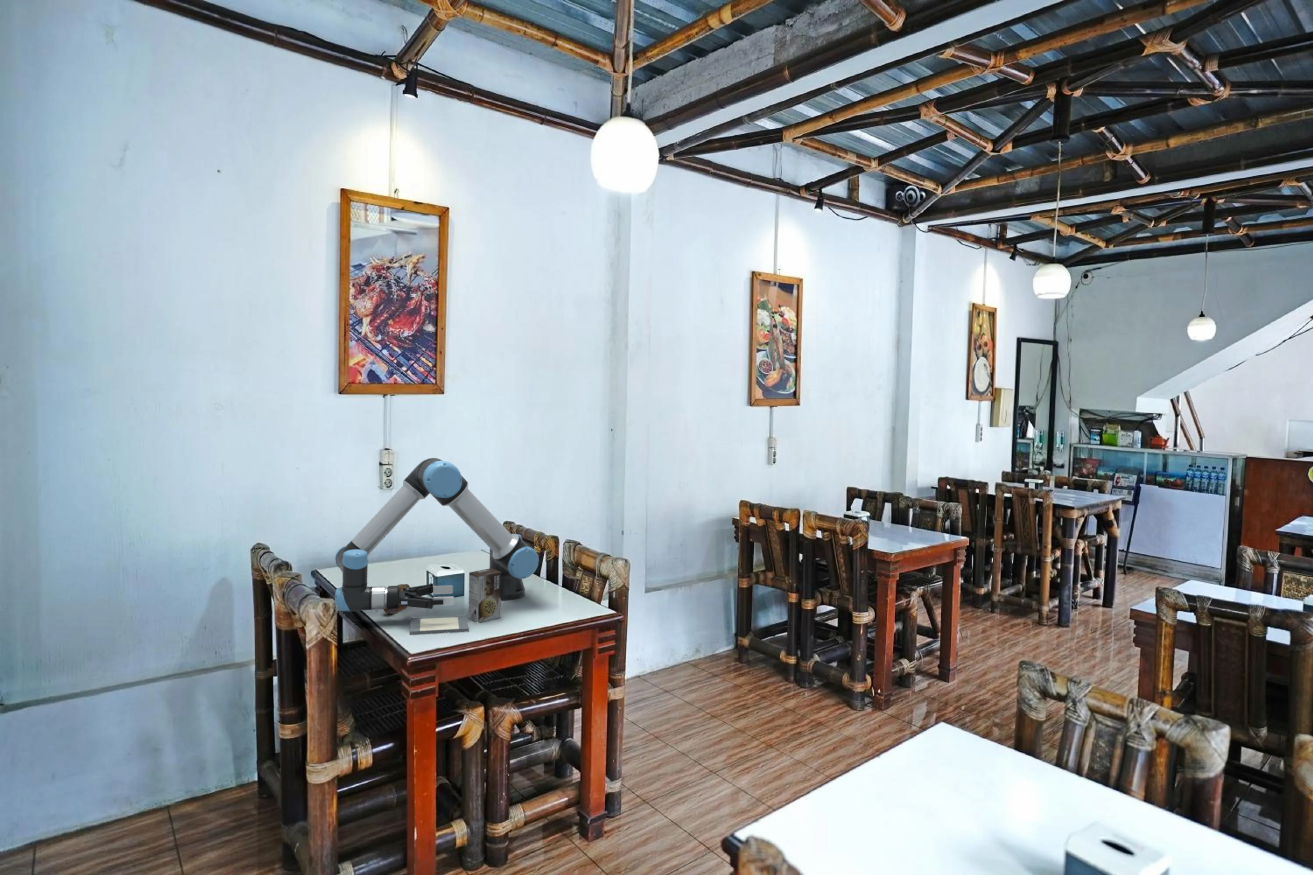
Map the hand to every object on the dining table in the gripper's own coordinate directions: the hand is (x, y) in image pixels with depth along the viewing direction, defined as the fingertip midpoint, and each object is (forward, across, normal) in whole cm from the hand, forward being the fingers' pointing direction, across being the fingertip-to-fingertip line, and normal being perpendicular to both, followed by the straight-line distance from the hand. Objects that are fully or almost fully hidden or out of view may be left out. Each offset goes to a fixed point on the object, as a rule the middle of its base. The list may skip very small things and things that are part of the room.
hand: (453, 594), depth 251 cm
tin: (-18, -14, -9) cm, 25 cm away
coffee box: (+10, 0, -9) cm, 13 cm away
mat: (-4, +6, -8) cm, 11 cm away
